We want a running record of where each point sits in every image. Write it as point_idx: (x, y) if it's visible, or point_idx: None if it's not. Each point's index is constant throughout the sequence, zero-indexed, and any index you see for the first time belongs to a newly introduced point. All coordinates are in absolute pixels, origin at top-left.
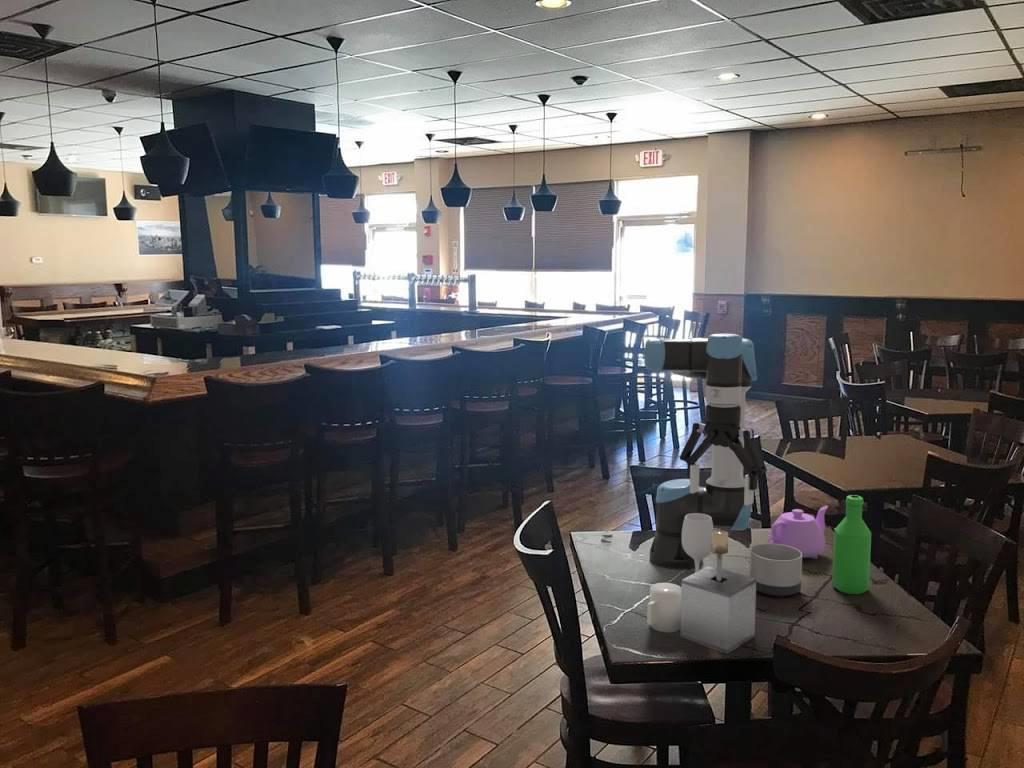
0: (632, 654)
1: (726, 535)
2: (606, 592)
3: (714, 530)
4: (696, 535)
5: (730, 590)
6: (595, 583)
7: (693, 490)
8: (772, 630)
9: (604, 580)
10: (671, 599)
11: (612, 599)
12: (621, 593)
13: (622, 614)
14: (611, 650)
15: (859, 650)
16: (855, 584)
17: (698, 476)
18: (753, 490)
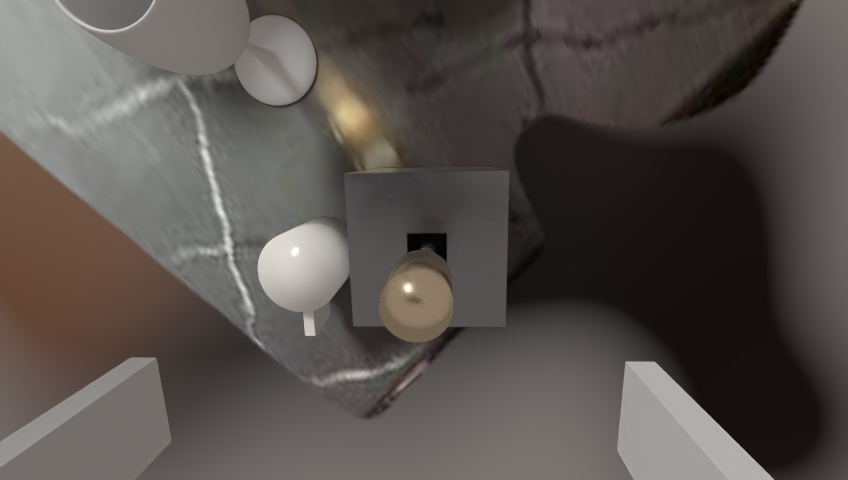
0: (361, 386)
1: (452, 312)
2: (133, 203)
3: (380, 299)
4: (189, 56)
5: (494, 302)
6: (79, 179)
7: (154, 447)
8: (505, 109)
9: (77, 149)
10: (335, 293)
11: (169, 224)
12: (157, 183)
13: (236, 269)
14: (326, 398)
15: (695, 62)
16: None
17: (29, 466)
18: (728, 440)
